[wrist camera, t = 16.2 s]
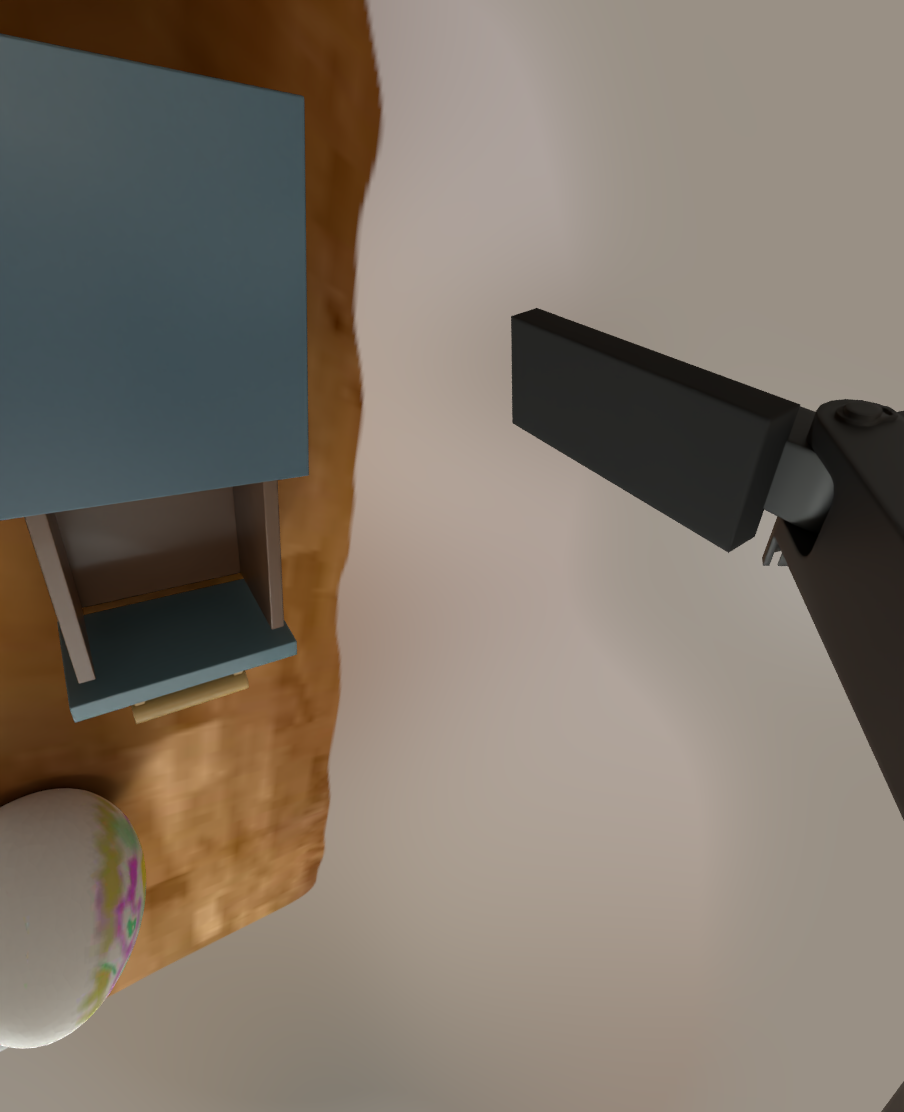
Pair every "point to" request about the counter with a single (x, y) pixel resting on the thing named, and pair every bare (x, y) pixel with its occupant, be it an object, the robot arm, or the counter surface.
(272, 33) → the counter surface
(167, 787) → the counter surface
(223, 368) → the cabinet
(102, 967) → the decorative egg
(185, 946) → the counter surface
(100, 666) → the drawer
